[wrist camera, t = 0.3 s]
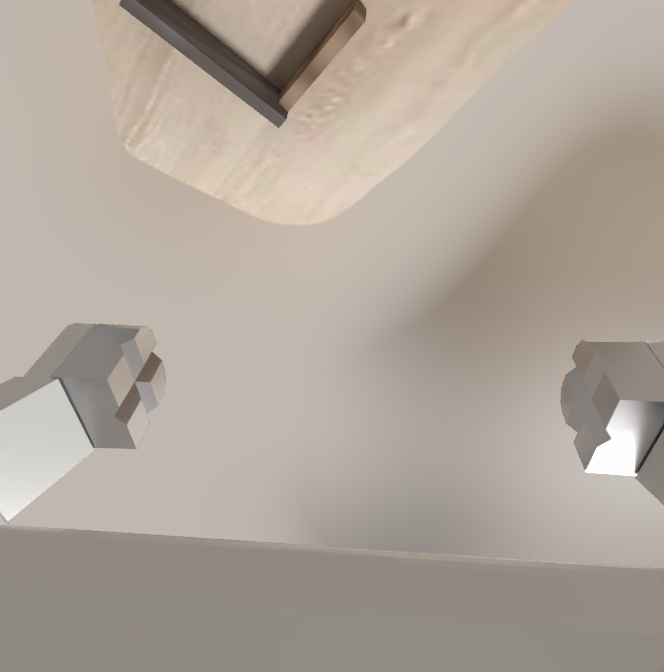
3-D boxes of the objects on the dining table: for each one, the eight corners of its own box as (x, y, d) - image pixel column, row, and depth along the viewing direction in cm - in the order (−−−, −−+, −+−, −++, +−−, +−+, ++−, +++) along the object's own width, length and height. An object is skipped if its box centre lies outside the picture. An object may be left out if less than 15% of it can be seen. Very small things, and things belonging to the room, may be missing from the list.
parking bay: (197, -165, 40) (185, -152, 38) (366, 9, 49) (364, 28, 47) (132, -13, 49) (119, 4, 47) (283, 108, 59) (278, 127, 57)
